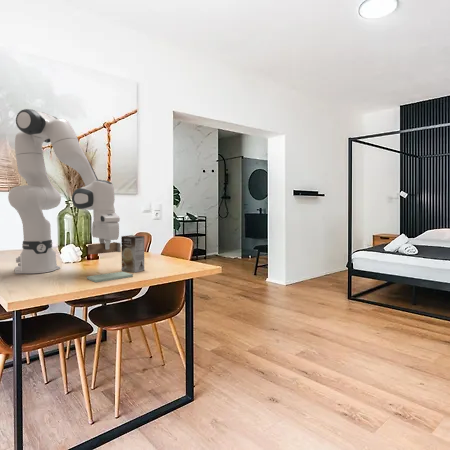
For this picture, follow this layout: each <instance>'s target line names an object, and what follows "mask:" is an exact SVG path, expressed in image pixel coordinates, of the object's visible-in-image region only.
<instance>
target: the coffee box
mask: <svg viewBox="0 0 450 450" xmlns="http://www.w3.org/2000/svg"><path fill="white" fill-rule="evenodd" d="M120 238H121V242H120V243H121V271H122V272H128V273H129V272H131V273H139V272H143V270H144V271H145V236H143V235H135V234H134V235H133V234H131V235H121V237H120Z"/></svg>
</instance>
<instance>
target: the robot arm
mask: <svg viewBox="0 0 450 450" xmlns="http://www.w3.org/2000/svg"><path fill="white" fill-rule="evenodd" d="M15 124H16V127H17V129H18V130H20V131H19V132H18V133H16V134H15V137H14V138H15V139H14V151H15V152H14V153H15V158H16V166H17V172H18V174H19V175H20V177H22V178H23V179H24V180H25V182H26V184H22V185H19V186H14V187H12V188H11V189H10V190H9V192H8V195H7V199H8V202H9V204H10V206H11V207H12V208H13V209H14V210H16V211H17V212H16V213H18V216H19V218H20V220H21V223H22V231H23V232H22V233H23V235H22V236H23V241H22V244H21V245H22V248H21V249H22V251H21V252H20V254H19V256H18V257H16V258H15V263H17V266H15V267H14V274H41V273H43V274H44V273H50V272H53V271H56V270H59V269H61V266H60V265H57V264H58V263H57V254H56V253H57V252H56V251H55V250H54V249H53V240H52V236H51V234H52V231H51V223H50V221H49V220H48V219H47V218H45V217H46V216H44V213H43V211H48V210H51V209H55V208H57V207H58V206H59V205H60V204H61V202H62V201H61V200H62V196H61V193H60V191H59V190H57V189H56V187H55V186H54V185H53V183H52V182H51V180H50V178H49V176H48V173H47V170H46V163H45V158H44V151H43V143H44V142H45V143H46V144H47V143H50V145H51V147H52V149H53V153H54V155H55V156H56V157H57V159H58V160H59V161H60V162H61V163H62V164H64V165H66V166H69V167H70V168H71V169H73V170H75V172H77V173H78V174H79V176H80V178H81V179H82V181H83V183H84V185H85V186H82V187H80V188H78V187H77V188H76V189H75V190H74V191H73V193H72V195H71V202H72V204H73V205H74V207H75V208H76V209H79V210H85V211H87V210H89V211H91V210H93V212H92V213H93V221H92V225H91V236H92V237H93V238H97V239H98V243H99V244H101V243H105V245H104V249H106V250H107V249H110V243H112V241H114V240H119V236H120V224H119V222H120V219H121V218H120V216H119V215H118V214H117V213H116V212H115V211H116V210H115V206H114V204H115V189H114V184H113V183H112V182H111V181H108V180H104V179H103V180H102V179H98V177H97V174H96V172H95V170H94V168H93V166H92V164H91V163H90V160H89V159H88V157H87V156H86V154H85V152H84V150H83V149H82V147H81V144H80V141H79V139H78V136H77V134H76V132H75V130H74V128H73V126H72V125H71V123H70V122H69V121H68V120H66V119H65V118H57V117H56V116H53V115H50V114H48V113H45V112H43V111H42V112H41V111H38V110H35V109H29V108H24V109H21V110H20V111H18V113H17V114H16V118H15Z"/></svg>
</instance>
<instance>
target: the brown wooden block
mask: <svg viewBox="0 0 450 450" xmlns="http://www.w3.org/2000/svg"><path fill="white" fill-rule="evenodd" d="M104 245H105V243H101V244H100V243H89V244H87V254H88V255H99V254H109V253H122V244H121V242H117V241H113V242H110V249H107V250H106V249H104Z"/></svg>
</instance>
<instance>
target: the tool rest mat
mask: <svg viewBox="0 0 450 450" xmlns="http://www.w3.org/2000/svg"><path fill="white" fill-rule="evenodd" d="M133 276H134V275H133V273H129V272H127V271H118V272H110V273H104V274H103V273H102V274H95V275H89V276H86V280H89V281H91V282H94V283H101V282H107V281H113V280H121V279H126V278H127V279H129V278H133Z"/></svg>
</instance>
